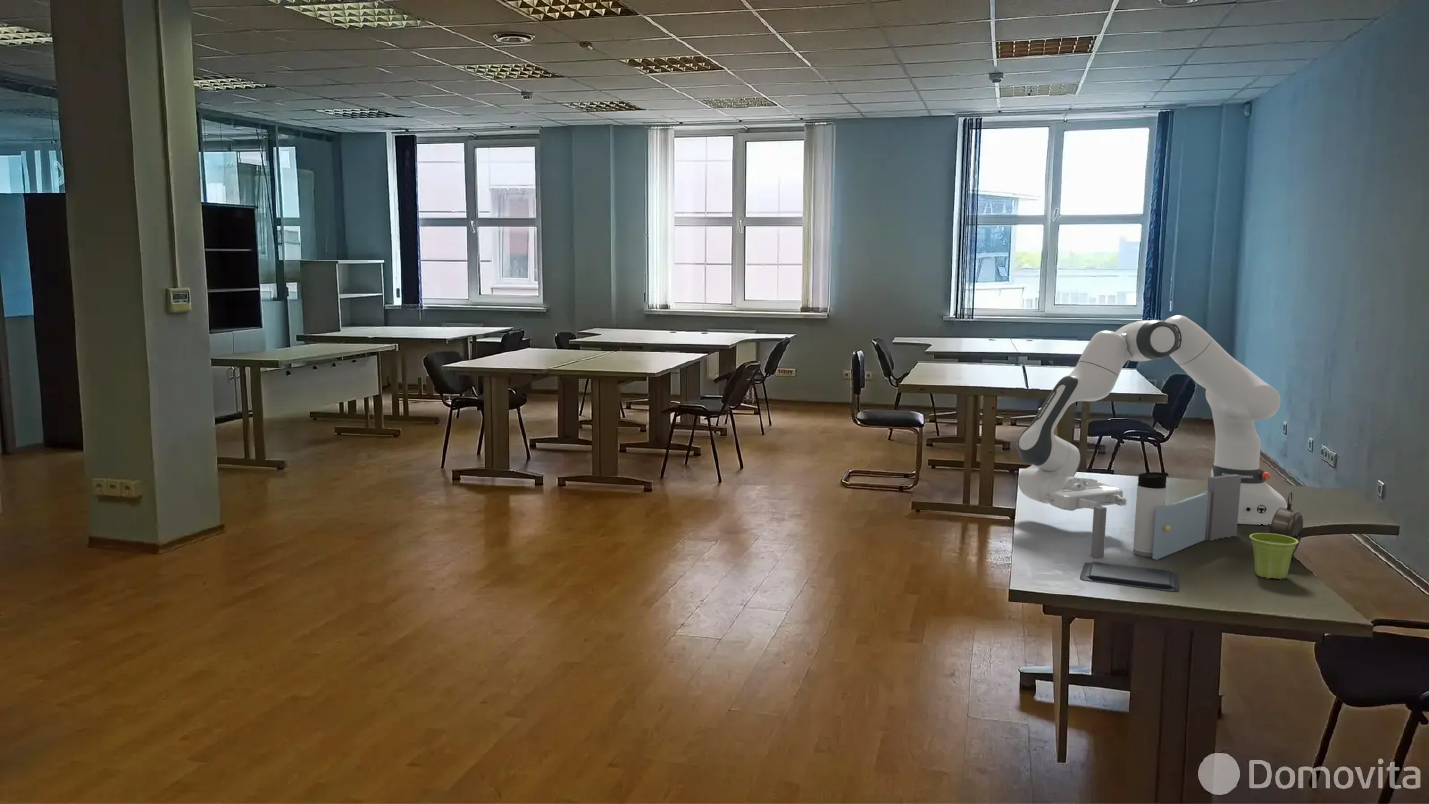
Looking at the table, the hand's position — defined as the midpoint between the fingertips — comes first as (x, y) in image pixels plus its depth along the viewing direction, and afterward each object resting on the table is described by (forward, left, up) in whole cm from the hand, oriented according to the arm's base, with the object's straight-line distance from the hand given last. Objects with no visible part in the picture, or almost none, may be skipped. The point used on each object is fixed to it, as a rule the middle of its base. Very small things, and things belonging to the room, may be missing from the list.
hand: (1110, 504), depth 245 cm
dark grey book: (-3, +30, -11) cm, 32 cm away
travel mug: (-8, +8, -10) cm, 15 cm away
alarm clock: (-39, 0, -10) cm, 40 cm away
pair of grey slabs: (-14, -1, -10) cm, 17 cm away
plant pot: (-33, +17, -10) cm, 39 cm away
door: (-17, +1, -9) cm, 19 cm away
